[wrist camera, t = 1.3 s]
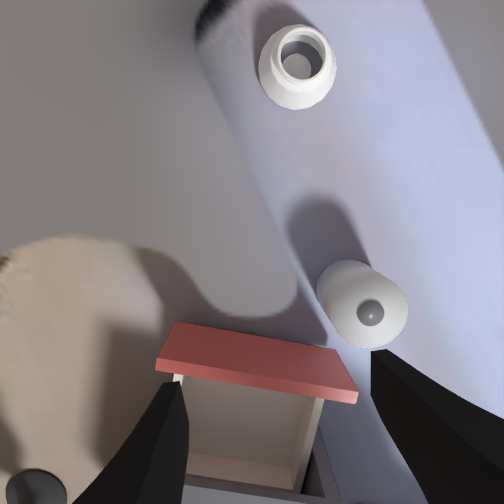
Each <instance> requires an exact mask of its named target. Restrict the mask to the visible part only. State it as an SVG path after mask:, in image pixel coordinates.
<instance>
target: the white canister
mask: <svg viewBox="0 0 504 504" xmlns="http://www.w3.org/2000/svg"><path fill="white" fill-rule="evenodd" d="M316 294H317V299H318V301H319V303H320V305H321V307H322V308H323V310H324V312H325V313H326V315H327V316H328V318H329V320H330V321H331V323H332V324H333V326H334V328H335V329H336V331H337V332H338V334H339V335H340V336H341V337H342V338H343V339H344V340H345V341H346V342H348V343H349V344H351V345H354V346H356V347H360V348H375V347H379V346H382V345H385V344H387V343H388V342H390V341H391V340H393V339H394V338H395V337H396V336H397V335H398V334H399V333H400V332H401V330H402V329H403V327H404V325H405V323H406V320H407V316H408V304H407V300H406V297H405V295H404V293H403V291H402V290H401V289H400V288H399V287H398V285H396V284H395V283H394V282H392V281H391V280H389V279H388V278H386V277H385V276H383V275H382V274H380V273H379V272H377V271H375V270H374V269H372V268H371V267H369V266H368V265H366V264H365V263H363V262H361V261H358V260H355V259H343V260H339V261H336V262H334V263H332V264H330V265H329V266H328V267H327V268H326V269H325V270H324V271H323V272H322V273H321V275H320V277H319V279H318V282H317V286H316Z"/></svg>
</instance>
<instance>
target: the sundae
mask: <svg viewBox="0 0 504 504" xmlns="http://www.w3.org/2000/svg"><path fill="white" fill-rule="evenodd" d="M6 499H7V504H66V503H67V495H66V491H65V489H64V487H63V485H62V484H61V482H60V481H59V480H58V479H57V478H55V477H54V476H52V475H51V474H48V473H46V472H42V471H26V472H23V473H20V474H18V475H16V476H15V477H14V478H13V479H12V480H11V481H10V482H9V484H8V486H7V489H6Z"/></svg>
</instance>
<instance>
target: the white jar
mask: <svg viewBox="0 0 504 504" xmlns="http://www.w3.org/2000/svg"><path fill="white" fill-rule="evenodd" d="M293 41H301V42H305V43H309V44H310V45H311V46H312V47H313V48H315V49H316V50H317V51H318V53H319V55H320V57H321V59H322V62H323V65H322V68H321V70H320V71H319V72H318V73H317V74H316V75H315V76H314V77H312V78H309V77H310V75H311V65H310V62H309V61H308V59H307V58H306V57H305V56H303V55H301V54H292V55H290V56H288V57H287V58H286V59H285V60H284V62H283V64H282V63H281V57H280V54H281V49H282V47H283V45H284V44H286V43H287V42H293ZM258 70H259V77H260V83H261V85H262V87H263V89H264V91H265V92H266V94H267V96H268V97H269V98H270V99H271V100H273V101H274V102H275V103H276V104H278V105H279V106H281V107H284V108H288V109H292V110H298V109H305V108H310V107H311V106H313V105H314V104H316V103H318V102H319V101H321V100H322V99H323V98H324V96H325V95H326V94H327V92H328V91H329V90H330V88H331V87H332V85H333V82H334V78H335V74H336V71H337V67H336V57H335V52H334V50H333V48H332V46H331V44H330V42H329V40H328V38H327V37H325V36H324V35H323V34H322V33H321V32H319V31H318V30H317V29H316V28H313V27H309V26H306V25H302V24H297V25H291V26H285V27H283V28H282V29H280V30H279V31H277V32H276V33H274V34H273V35H271V37H270V38H269V40H268V41H267V42H266V44H265V45H264V47H263V48H262V51H261V56H260V60H259V64H258Z"/></svg>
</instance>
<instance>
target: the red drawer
mask: <svg viewBox="0 0 504 504" xmlns="http://www.w3.org/2000/svg"><path fill="white" fill-rule="evenodd" d="M155 370H156V371H162V372H168V373H174V377H173V382H174V381H180V384H181V388H182V393H183V397H184V402H185V406H186V411H187V415H188V419H189V452H188V460H187V467H186V474H185V476H186V477H193V478H199V479H206V480H212V481H219V482H225V483H232V484H238V485H245V486H251V487H258V488H264V489H271V490H277V491H284V492H290V493H297V494H300V492H301V488H302V485H303V481H304V477H305V473H306V469H307V465H308V461H309V457H310V453H311V450H312V446H313V442H314V438H315V434H316V430H317V426H318V422H319V419H320V415H321V411H322V407H323V403H324V399H327V400H333V401H339V402H345V403H351V404H356V401H357V398H358V394H359V391H358V390H357V388H356V386H355V384H354V382H353V380H352V379H351V377H350V375H349V373H348V371H347V369H346V368H345V366H344V364H343V362H342V360H341V359H340V357H339V355H338V353H337V351H336V350H335V349H329V348H324V347H318V346H312V345H307V344H301V343H295V342H290V341H284V340H278V339H273V338H267V337H261V336H256V335H250V334H245V333H239V332H233V331H228V330H222V329H216V328H211V327H205V326H199V325H194V324H188V323H182V322H177V321H175V323H174V325H173V327H172V329H171V331H170V333H169V335H168V337H167V339H166V341H165V343H164V345H163V347H162V349H161V351H160V352H159V354H158V356H157V360H156V366H155Z"/></svg>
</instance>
